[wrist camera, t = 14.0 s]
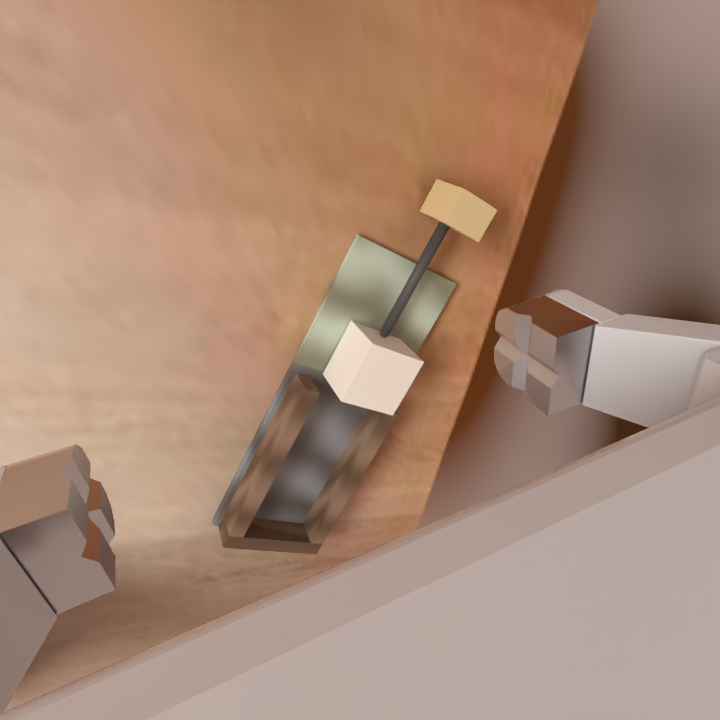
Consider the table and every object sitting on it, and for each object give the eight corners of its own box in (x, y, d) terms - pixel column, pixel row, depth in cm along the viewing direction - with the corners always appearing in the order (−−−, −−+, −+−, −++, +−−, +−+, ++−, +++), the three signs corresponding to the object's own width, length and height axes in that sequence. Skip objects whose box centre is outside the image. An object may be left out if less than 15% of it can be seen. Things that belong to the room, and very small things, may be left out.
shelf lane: (309, 529, 60) (320, 554, 57) (212, 519, 54) (218, 547, 51) (452, 281, 51) (473, 295, 48) (356, 233, 45) (374, 246, 42)
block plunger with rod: (371, 388, 52) (392, 415, 48) (322, 374, 49) (341, 401, 45) (475, 203, 47) (509, 216, 43) (428, 173, 44) (460, 184, 40)
